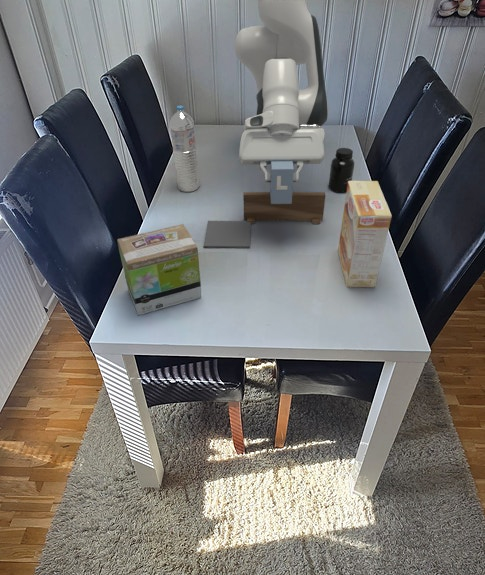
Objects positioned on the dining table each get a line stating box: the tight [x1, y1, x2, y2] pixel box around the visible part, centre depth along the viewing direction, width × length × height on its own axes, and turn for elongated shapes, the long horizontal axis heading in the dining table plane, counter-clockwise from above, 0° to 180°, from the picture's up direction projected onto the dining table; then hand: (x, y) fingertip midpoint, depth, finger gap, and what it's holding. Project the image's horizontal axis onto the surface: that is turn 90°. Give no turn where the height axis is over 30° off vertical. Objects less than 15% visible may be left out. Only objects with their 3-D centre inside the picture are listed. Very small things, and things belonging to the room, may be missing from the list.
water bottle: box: [169, 104, 200, 193], centre depth 132 cm, size 7×7×25 cm
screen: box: [242, 191, 327, 225], centre depth 123 cm, size 5×22×8 cm, turn 88°
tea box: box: [117, 223, 202, 316], centre depth 98 cm, size 15×10×15 cm, turn 114°
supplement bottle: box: [328, 147, 355, 194], centre depth 134 cm, size 7×7×12 cm
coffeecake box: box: [337, 180, 393, 288], centre depth 102 cm, size 15×7×20 cm, turn 178°
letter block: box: [269, 161, 295, 204], centre depth 107 cm, size 5×5×9 cm
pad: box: [203, 220, 252, 249], centre depth 120 cm, size 12×12×1 cm
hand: (281, 181), depth 106 cm, fingers closed on letter block, 5 cm apart
